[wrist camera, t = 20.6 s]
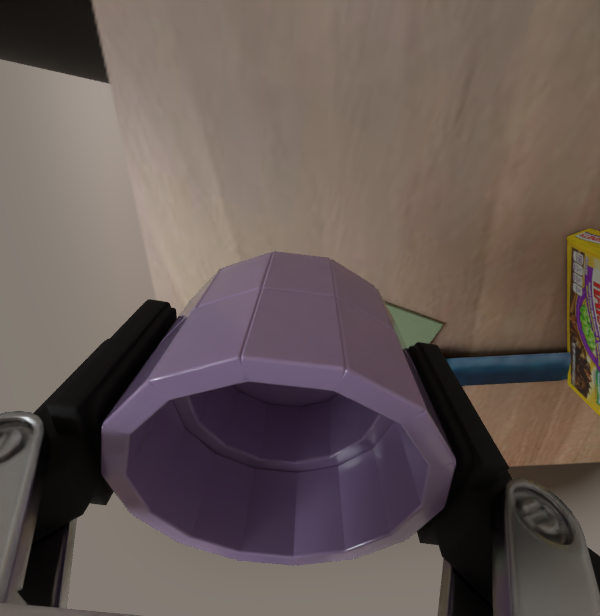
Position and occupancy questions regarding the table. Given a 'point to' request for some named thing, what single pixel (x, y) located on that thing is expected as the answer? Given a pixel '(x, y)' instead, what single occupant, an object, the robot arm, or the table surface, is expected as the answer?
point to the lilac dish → (280, 421)
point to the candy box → (584, 315)
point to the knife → (511, 368)
